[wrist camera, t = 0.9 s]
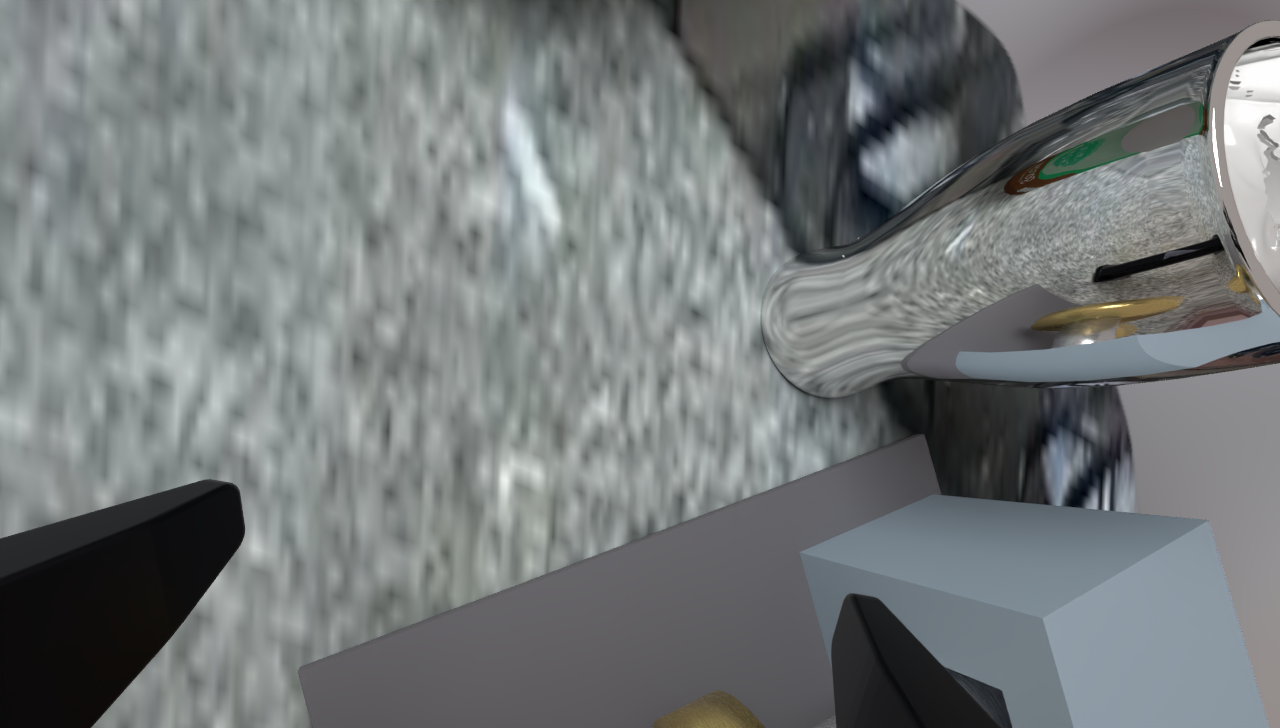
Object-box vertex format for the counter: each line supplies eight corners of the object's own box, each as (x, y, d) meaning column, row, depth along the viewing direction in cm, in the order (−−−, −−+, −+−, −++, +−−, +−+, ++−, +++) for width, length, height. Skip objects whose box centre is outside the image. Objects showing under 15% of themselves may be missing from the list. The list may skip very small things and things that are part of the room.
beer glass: (910, 298, 27) (1432, 149, 14) (857, 439, 26) (1401, 433, 12) (789, 210, 26) (1245, -66, 12) (722, 354, 24) (1174, 227, 10)
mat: (424, 1158, 17) (425, 1173, 17) (300, 667, 18) (298, 671, 17) (1007, 754, 26) (1015, 758, 26) (917, 433, 27) (924, 434, 26)
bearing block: (864, 786, 23) (1151, 999, 14) (799, 552, 23) (1042, 618, 15) (992, 704, 26) (1302, 840, 17) (933, 494, 26) (1208, 520, 17)
